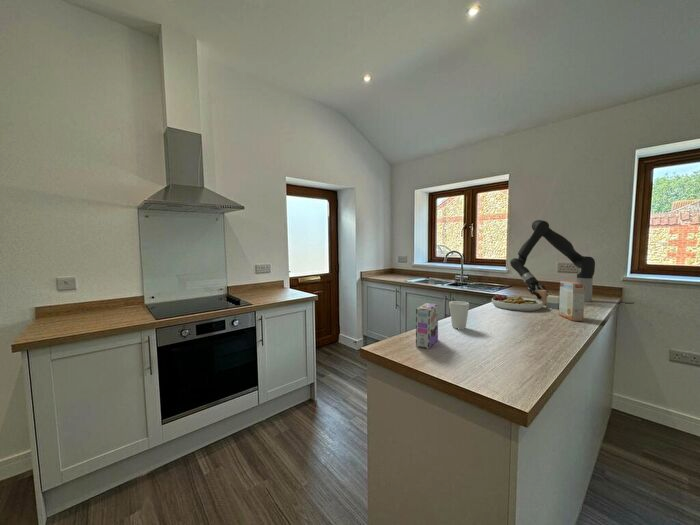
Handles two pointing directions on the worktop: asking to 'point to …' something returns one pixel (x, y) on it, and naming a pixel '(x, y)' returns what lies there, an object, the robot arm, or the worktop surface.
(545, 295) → the pillar
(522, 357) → the worktop surface
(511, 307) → the bowl
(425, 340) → the candy box
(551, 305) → the tower base
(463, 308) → the foam cup
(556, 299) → the tower top
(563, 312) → the cracker box
